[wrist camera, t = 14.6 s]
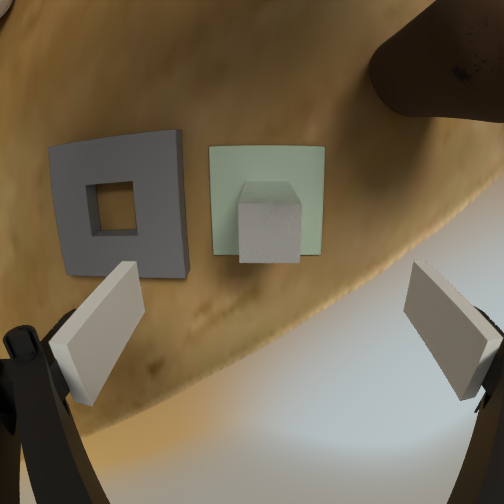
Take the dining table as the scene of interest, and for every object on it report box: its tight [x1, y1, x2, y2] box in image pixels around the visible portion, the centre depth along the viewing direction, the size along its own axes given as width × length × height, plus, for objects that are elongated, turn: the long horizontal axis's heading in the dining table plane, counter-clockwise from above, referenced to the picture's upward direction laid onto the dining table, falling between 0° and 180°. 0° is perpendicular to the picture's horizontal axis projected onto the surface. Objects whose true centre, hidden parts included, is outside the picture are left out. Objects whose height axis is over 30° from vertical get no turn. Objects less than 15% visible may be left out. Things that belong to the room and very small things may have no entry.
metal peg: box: [238, 181, 302, 263], centre depth 29 cm, size 4×4×12 cm
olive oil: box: [370, 0, 504, 123], centre depth 17 cm, size 11×11×25 cm
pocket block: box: [48, 129, 190, 278], centre depth 34 cm, size 16×16×2 cm
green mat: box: [209, 145, 325, 255], centre depth 34 cm, size 12×12×1 cm
